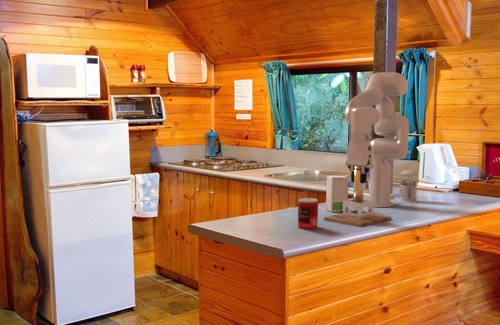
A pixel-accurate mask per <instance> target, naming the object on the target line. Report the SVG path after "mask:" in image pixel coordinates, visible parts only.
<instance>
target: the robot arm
mask: <svg viewBox="0 0 500 325" xmlns="http://www.w3.org/2000/svg"><path fill="white" fill-rule="evenodd" d="M408 87H409V84H408V81H407V78H406V77H405V76H403V74H401V73H399V72H396V71H394V72H393V71H390V72H385V71H384V72H383V71H382V72H381V71H380V72H375V73H373V74H371V76H369V79H368V82H367V84H366V87H365V89H364V91H362V92H361V93H359V94H357V95H356V96H354V97H353V98H351V99H350V100H349V102H348V104H347V107H346V109H345V112H344V120H345V122H346V124H348V125H350V141H349V142H348V148H347V155H346V156H347V158H346V161H345V163H344V165H345V166H346V167H347V168H348V170H349V172H350V173H351V174H350V180H351V183H354V166H355V165H356V166H361V168H362V174H361V183H364V184H367V180H368V173H369V196H368V197H369V198H368V200H371V201H374V207H375V208H389V207H390V208H391V207H393V206H394V203H393V202H392V200H394V199H395V195H391V180H392V179H391V178H392V177H391V176H392V167H391V165H390V164H389V162H388V161H387V160H405V158H406V157H407V154H408V148H409V134H410V133H409V132H410V123H409V119H408V118H407V117H406V116H404V115H394V113H395V112H394V111H395V106H394V105H395V104H394V103H393V101H392V100H391V98H390V97H389V96H397V97H398V96H399V97H400V96H404V95H406V94H407V93H408V92H407V91H408ZM374 106H375V107H374ZM371 126H373V131H374V133H375V135H378V136H383V137H384V138H383V137H381V138H379V137H378V138H377V137H376V138H372V135H370V132H371V131H370V128H371ZM385 137H396V138H385Z"/></svg>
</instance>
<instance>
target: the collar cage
mask: <svg viewBox="0 0 500 325" xmlns="http://www.w3.org/2000/svg"><path fill="white" fill-rule="evenodd" d="M349 207H350V208H353V209H350V210H349ZM364 208H367V209H368V210H364ZM342 213H343V217H347V218H352V219H358V220H363V219H367V218H372V217H373V214H374V213H375V211H374V201H371V200H369V199H365V198H363V202H354V201H353V198H351V199H349V198H348V200H343V212H342Z"/></svg>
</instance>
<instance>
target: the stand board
mask: <svg viewBox="0 0 500 325" xmlns="http://www.w3.org/2000/svg"><path fill="white" fill-rule="evenodd" d="M323 220H324V221H327V222H332V221H333V223H337V222H338V223H337V224H342V223H343V224H345V225H347V224H348V226H352V225H353V226H354V227H357V226H358V228H361V226H362V227H365V226H370V225H373V224H378V223H383V222H387V221H392V216H390V215H383V214H378V213H373V217H372V218H367V219H363V220H358V219H352V218H347V217H343V212H341V213H337V214H333V215H328V216H324V217H323ZM343 224H342V225H343ZM353 226H352V227H353Z"/></svg>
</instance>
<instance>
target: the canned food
mask: <svg viewBox="0 0 500 325" xmlns="http://www.w3.org/2000/svg"><path fill="white" fill-rule="evenodd" d="M297 200H298V201H297V227H298V228H299V229H300V230H315V229H317V228H318V216H319V199H317V198H313V197H301V198H298V199H297Z"/></svg>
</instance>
